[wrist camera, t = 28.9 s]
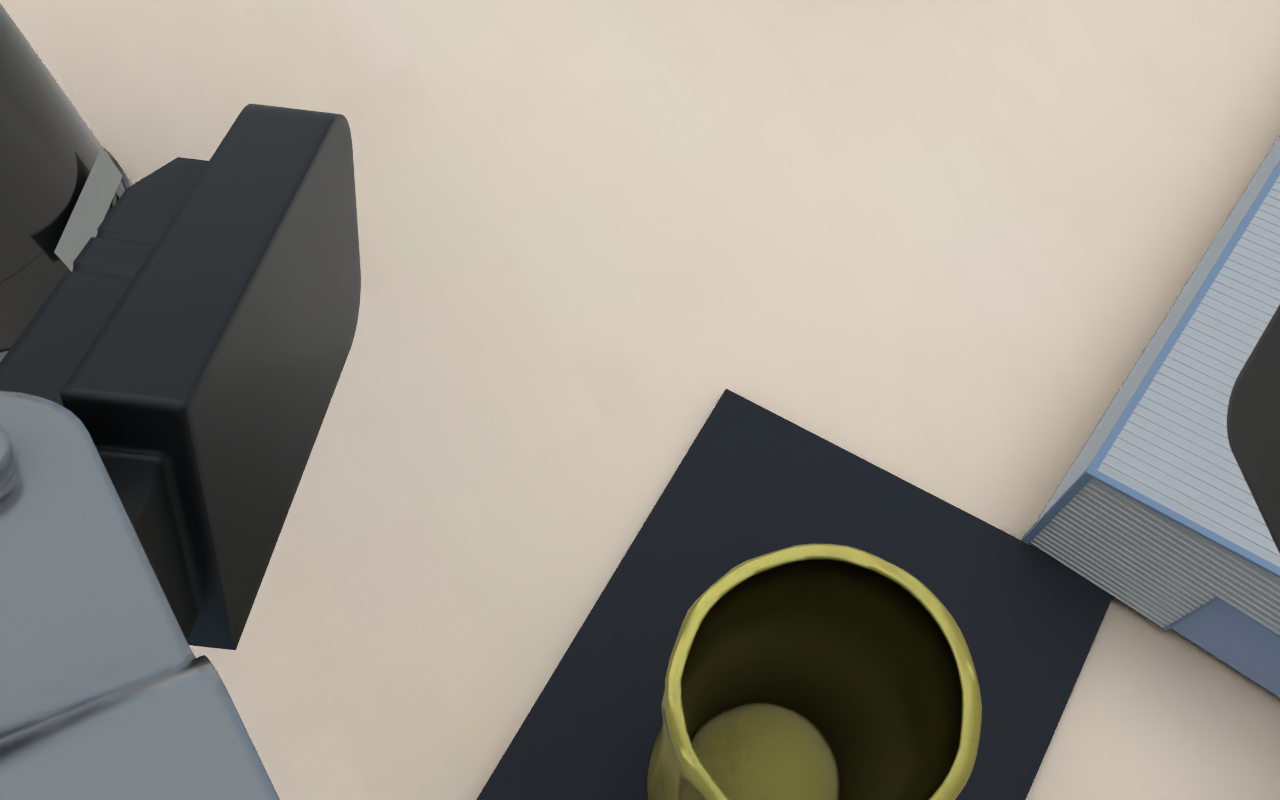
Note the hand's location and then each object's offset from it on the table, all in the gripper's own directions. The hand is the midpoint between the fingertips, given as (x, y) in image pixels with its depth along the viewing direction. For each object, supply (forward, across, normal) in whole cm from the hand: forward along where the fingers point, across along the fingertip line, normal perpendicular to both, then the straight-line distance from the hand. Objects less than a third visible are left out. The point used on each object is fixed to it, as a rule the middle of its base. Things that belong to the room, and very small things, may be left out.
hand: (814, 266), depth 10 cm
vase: (+9, -4, +24) cm, 25 cm away
